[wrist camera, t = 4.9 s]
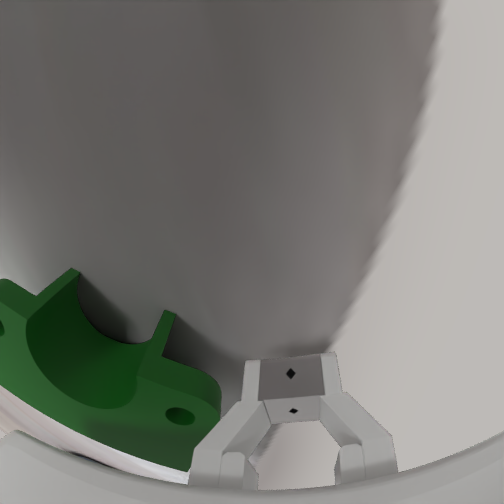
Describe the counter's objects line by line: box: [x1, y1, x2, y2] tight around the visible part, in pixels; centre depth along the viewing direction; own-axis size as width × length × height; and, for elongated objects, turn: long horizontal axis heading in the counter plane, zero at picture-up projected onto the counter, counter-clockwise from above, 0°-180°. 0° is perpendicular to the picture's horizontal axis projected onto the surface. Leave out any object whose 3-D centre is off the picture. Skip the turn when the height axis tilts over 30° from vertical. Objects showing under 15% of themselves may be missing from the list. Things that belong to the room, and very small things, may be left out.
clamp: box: [0, 268, 222, 472], centre depth 11 cm, size 12×6×9 cm, turn 61°
